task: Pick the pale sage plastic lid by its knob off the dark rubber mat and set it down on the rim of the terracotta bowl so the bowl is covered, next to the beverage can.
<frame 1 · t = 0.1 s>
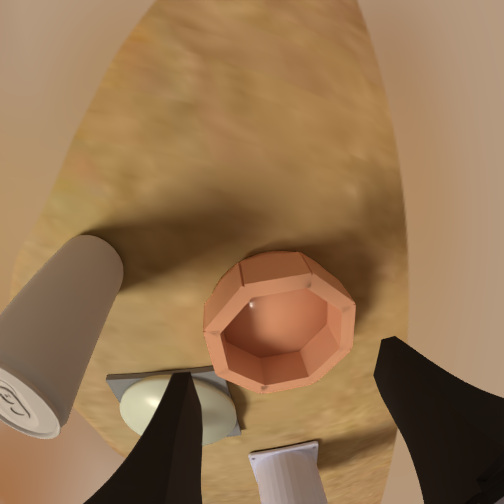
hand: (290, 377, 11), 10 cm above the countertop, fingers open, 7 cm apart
bowl: (274, 309, 22), on the countertop
beverage can: (94, 264, 19), on the countertop
lid: (177, 412, 25), point 1 cm above the countertop, touching mat
mat: (178, 407, 25), on the countertop
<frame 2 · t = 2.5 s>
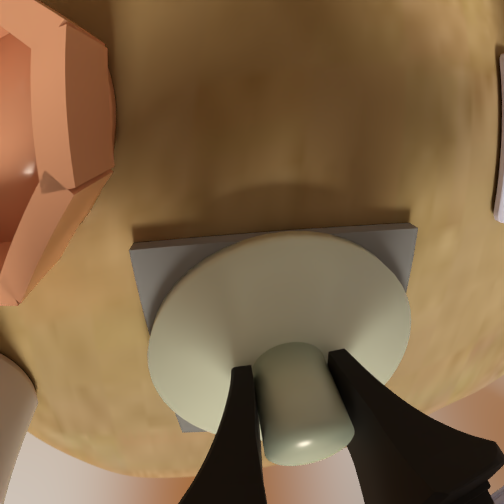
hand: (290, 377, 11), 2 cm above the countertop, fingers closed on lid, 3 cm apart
bowl: (6, 136, 8), on the countertop
beverage can: (7, 374, 12), on the countertop
lid: (284, 355, 12), point 1 cm above the countertop, touching gripper, mat
mat: (281, 346, 12), on the countertop
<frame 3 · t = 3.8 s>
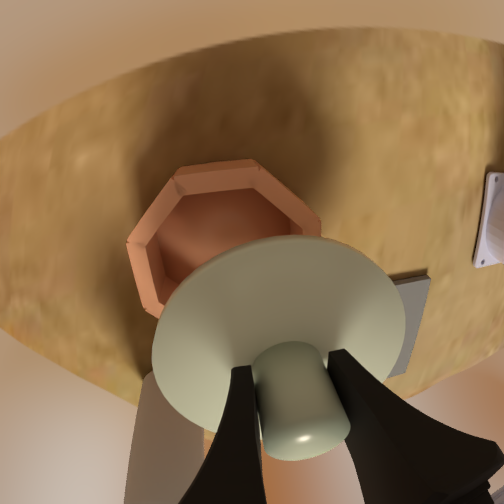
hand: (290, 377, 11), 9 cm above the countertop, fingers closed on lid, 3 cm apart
bowl: (224, 239, 18), on the countertop
beverage can: (173, 381, 23), on the countertop
lid: (283, 355, 12), point 7 cm above the countertop, touching gripper
mat: (362, 339, 22), on the countertop
when the fingers open (6 cm above the countertop, at t = 4.8 s): lid stays where it is, resting on bowl.
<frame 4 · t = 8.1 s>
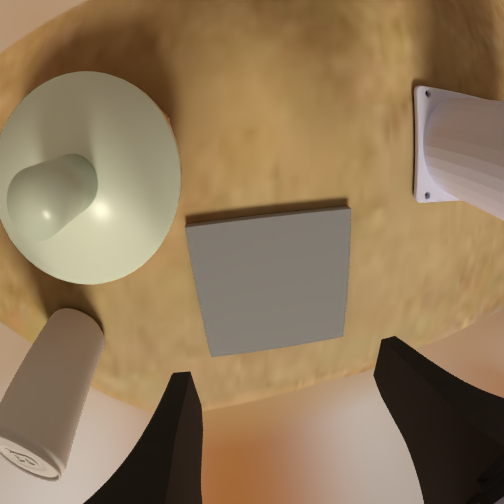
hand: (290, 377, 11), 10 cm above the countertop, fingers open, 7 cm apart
beverage can: (79, 328, 21), on the countertop
lid: (78, 180, 13), point 4 cm above the countertop, touching bowl
mat: (274, 286, 21), on the countertop
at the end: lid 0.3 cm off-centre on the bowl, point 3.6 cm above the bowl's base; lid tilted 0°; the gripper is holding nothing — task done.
